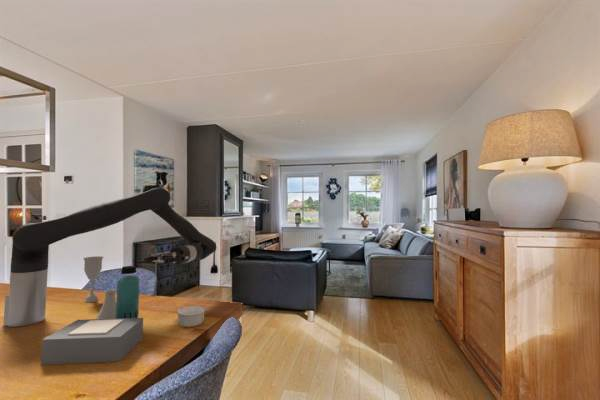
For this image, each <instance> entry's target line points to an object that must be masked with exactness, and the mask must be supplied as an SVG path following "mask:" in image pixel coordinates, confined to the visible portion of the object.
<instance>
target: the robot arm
mask: <svg viewBox="0 0 600 400" xmlns="http://www.w3.org/2000/svg"><path fill="white" fill-rule="evenodd" d="M170 201H171V194H170V192H169V191H168V190H167V189H166V188H163V187H154V188H151V189H149V190H147V191H144V192H141V193H138V194H136V195H132V196H127V197H123V198H120V199H119V198H118V199H114V200H109V201H105V202H102V203H99V204H98V203H97V204H94V205H92V206H91V205H90V206H88V207H86V208H83V209H80V210H77V211H75V212H73V213H70V214H68V215H65V216H62V217H59V218H55V219H51V220H47V221H41V222H35V223H34V222H30V223H24V224H22V225H20V226H19V227H18V228H16V230H15V231H14V232H13V233H12V244H11V249H12V250H11V258H10V259H11V260H10V273H9V288H8V294H7V295H4V308H3V309H4V310H3V324H2V325H3V326H7V327H10V328H19V327H25V326H29V325H30V326H31V325H34V324H36V323H40V322H42V321H44V320H45V319H46V305H47V291H48V274H49V273H48V271H49V269H48V268H49V248H50V245H53V244H55V243H56V242H57V243H58V242H60V241H62V240H64V239H68V238H70V237H73V236H77V235H82V234H86V233H89V232H95V231H98V230H100V229H103V228H106V227H110V226H114V225H115V224H118V223H120V222H123V221H125V220H128V219H129V218H131V217H134V216H135V215H137V214H139V213H142V212H146V211H151V212H153V213H155V215H157V216H159V217H160V218H161V219H162V220H163V221H165V223H167V224H168V225H169V226H170V227H171V228H172V229H173V230H174V231H176V232H177V233H178V235H180V237H182V239H183V240H184V241H186V243H187V244H183V245H182V244H181V245H179V246H177V245H176V246H173V247H172V248H171V249H170V250H169V251H166V252H157V253H150V254H148V256H145V257H144V258H143V263H144V264H149V263H163V264H164V265H169V264H172V265H174V266H180V265H183V264H186V263H189V262H190V263H191V262H192V261H195V260H196V261H201V260H204V259H206V258H208V257H210V255H212V254H213V253H215V252H216V250H217V244H216V242H215V241H214V240H213V239H211V238H210V237H208V236H206V235H205V234H203V233H201V232H200V231H199V230H198V229H197V228H196V226H194V225H193V224H192V223H191V222H190V221H189V220H188V219H186V218H184V217H183V216H182V215H180V214H179V213H177V212H176V211H175V210H174V208H172V207H171V205H169V202H170Z"/></svg>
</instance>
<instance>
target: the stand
mask: <svg viewBox="0 0 600 400" xmlns="http://www.w3.org/2000/svg"><path fill="white" fill-rule="evenodd" d="M143 327H144V317H138V318H120V319H96V318H94V319H93V318H92V319H91V318H89V319H76V320H75V321H72V322H71V323H69V324H68V325H66V326H64V327H62V328H61V329H59V330H57V331H55V332H53V333H51V334H49V335H47V336H45V337H44V338H43V339H41V352H40V353H41V354H40V366H43V365H64V364H65V365H66V364H69V365H70V364H85V363H86V364H88V363H107V362H108V363H109V362H110V363H111V362H120V361H122V359H123V358H125V356H126V355H127V354H128V353H130V351H132V350H133V348H134V347H135V346H137V344H139V342H140V341H142V340H143V333H144V332H143V331H144V329H143Z"/></svg>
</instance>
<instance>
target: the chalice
mask: <svg viewBox="0 0 600 400" xmlns="http://www.w3.org/2000/svg"><path fill="white" fill-rule="evenodd" d="M103 259H104V256H86V257H83V260H84V265H83V266H84V267H83V268H84V269H83V270H84V274H85V275H86V278H87V279H88V280H89V281H90V283H89V285H90V288H89V291H90V293H89V294H88V295H86V298H85V299H84V301H83V302H84V303H94V302H98V301H100V300H99V297H98V295H97V294H95V293H94V290H95V287H94V286H95V283H94V282H95V280H96V279H97V278H98V277H99V275H100V273H101V270H102V267H103Z"/></svg>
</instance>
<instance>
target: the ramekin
mask: <svg viewBox="0 0 600 400" xmlns="http://www.w3.org/2000/svg"><path fill="white" fill-rule="evenodd" d="M205 312H206V308H205V307H203V306H200V305H199V306H198V305H191V306H185V307H182V308H179V310H177V318H178V325H179V326H181V327H184V328H187V327H188V328H189V327H191V326H192V327H196V326H198V325H199V326H200V325H201V324H203V322H204V319H205Z"/></svg>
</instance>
